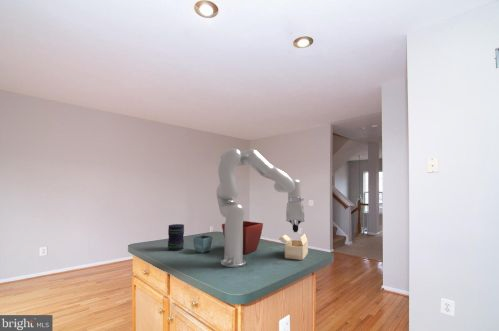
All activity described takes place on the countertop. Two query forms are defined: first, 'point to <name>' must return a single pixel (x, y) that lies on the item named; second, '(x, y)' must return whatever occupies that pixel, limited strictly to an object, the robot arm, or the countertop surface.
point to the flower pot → (202, 243)
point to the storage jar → (176, 237)
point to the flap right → (303, 239)
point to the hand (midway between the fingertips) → (295, 231)
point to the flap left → (284, 239)
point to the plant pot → (249, 235)
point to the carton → (296, 250)
